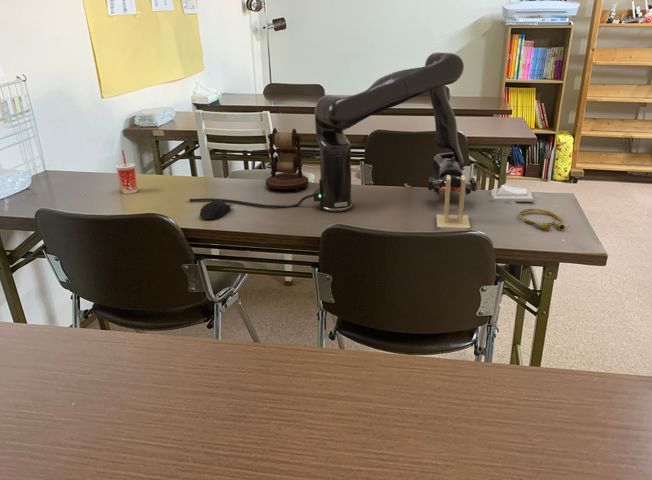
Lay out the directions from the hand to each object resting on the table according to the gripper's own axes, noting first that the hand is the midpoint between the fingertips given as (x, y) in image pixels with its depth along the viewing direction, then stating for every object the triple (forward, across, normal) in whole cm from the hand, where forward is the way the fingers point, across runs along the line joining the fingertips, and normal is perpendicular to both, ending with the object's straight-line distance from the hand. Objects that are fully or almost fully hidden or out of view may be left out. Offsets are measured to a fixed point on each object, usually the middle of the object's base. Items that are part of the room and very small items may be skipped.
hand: (453, 191), depth 162 cm
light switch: (-19, +20, +8) cm, 28 cm away
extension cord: (+3, +25, +8) cm, 26 cm away
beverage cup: (-14, -107, +8) cm, 108 cm away
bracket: (+8, 0, +7) cm, 11 cm away
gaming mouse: (+4, -70, +8) cm, 71 cm away
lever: (+4, 0, -1) cm, 4 cm away
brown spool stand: (-24, -55, +8) cm, 60 cm away
